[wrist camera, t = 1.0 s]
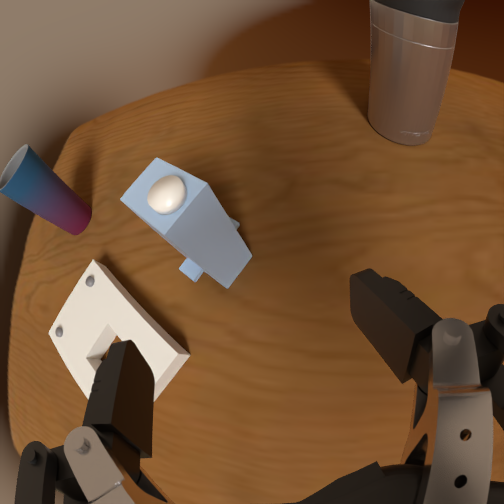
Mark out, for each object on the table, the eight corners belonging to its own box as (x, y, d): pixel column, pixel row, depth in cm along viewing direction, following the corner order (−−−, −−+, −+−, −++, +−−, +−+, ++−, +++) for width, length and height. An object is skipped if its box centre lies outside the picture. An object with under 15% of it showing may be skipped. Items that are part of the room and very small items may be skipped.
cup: (64, 219, 37) (0, 171, 23) (92, 193, 37) (30, 136, 24) (69, 249, 34) (-6, 201, 20) (99, 220, 34) (25, 160, 21)
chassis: (62, 336, 29) (46, 332, 26) (106, 266, 31) (91, 258, 28) (130, 431, 22) (113, 435, 20) (190, 355, 24) (176, 353, 22)
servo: (181, 269, 28) (101, 208, 16) (220, 220, 29) (163, 137, 18) (219, 300, 26) (142, 247, 14) (260, 245, 27) (217, 159, 15)
